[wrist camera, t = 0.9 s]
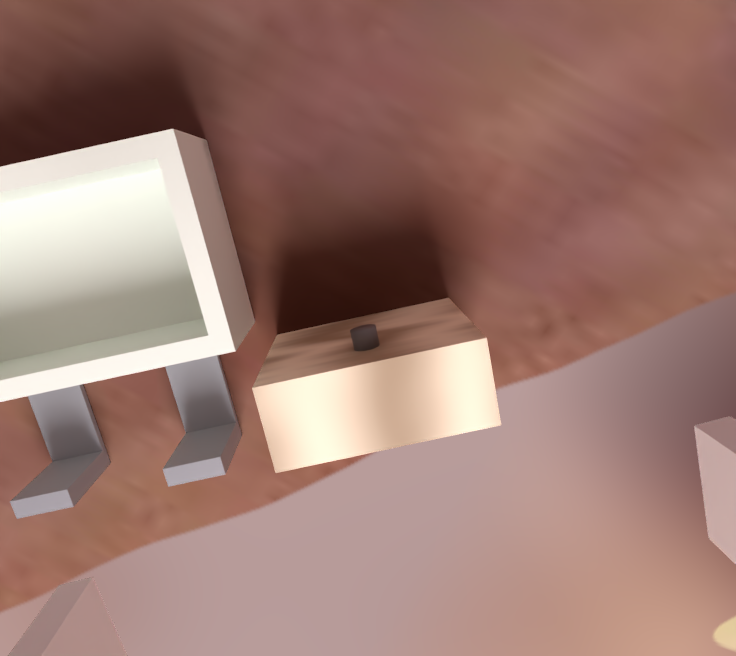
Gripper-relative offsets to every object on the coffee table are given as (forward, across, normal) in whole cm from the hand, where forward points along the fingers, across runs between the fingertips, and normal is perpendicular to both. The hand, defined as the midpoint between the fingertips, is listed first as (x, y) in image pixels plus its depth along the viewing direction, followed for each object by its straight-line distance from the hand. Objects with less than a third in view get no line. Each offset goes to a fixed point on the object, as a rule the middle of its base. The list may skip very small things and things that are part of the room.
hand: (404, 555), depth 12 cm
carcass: (+21, -14, +4) cm, 26 cm away
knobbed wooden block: (+21, 0, -1) cm, 21 cm away
